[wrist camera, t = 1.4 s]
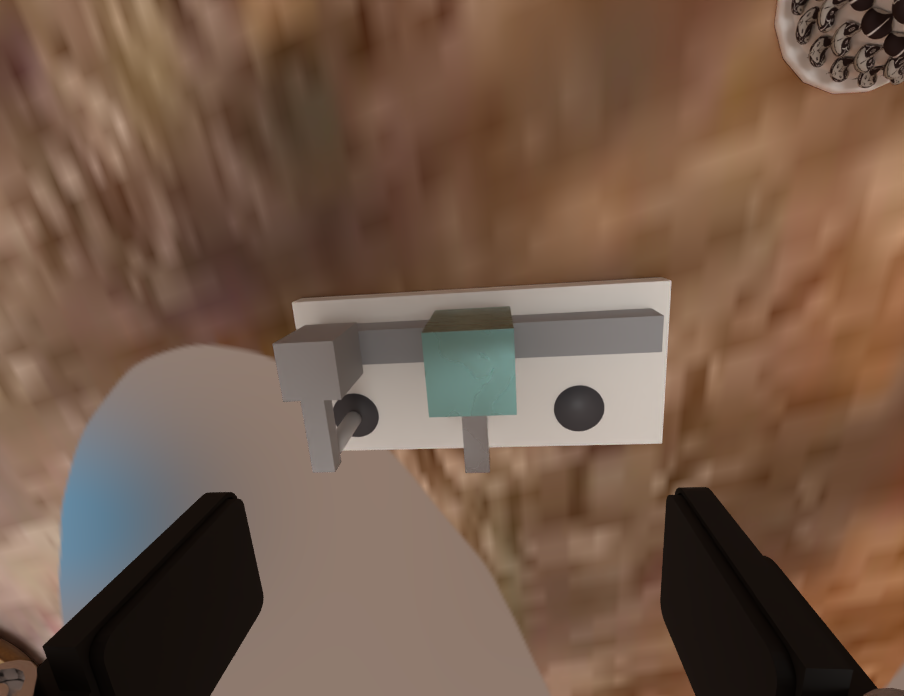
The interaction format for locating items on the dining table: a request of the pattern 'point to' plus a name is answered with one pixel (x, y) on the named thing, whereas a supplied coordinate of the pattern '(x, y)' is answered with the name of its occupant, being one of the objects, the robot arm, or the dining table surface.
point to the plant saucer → (11, 653)
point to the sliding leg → (471, 373)
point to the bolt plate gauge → (536, 367)
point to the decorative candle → (843, 42)
